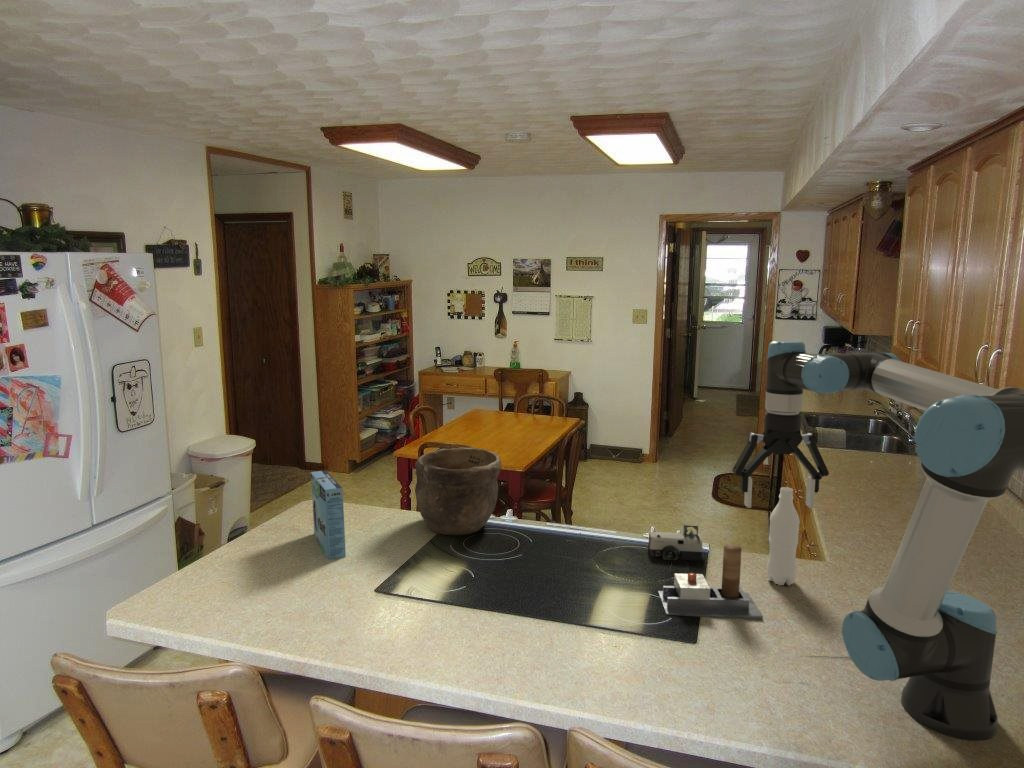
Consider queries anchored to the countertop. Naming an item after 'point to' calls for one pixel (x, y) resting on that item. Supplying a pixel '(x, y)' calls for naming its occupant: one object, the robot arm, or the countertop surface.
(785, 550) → the water bottle
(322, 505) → the blue carton box
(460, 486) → the clay pot
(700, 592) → the white rectangular block
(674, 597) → the mount
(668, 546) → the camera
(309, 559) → the countertop surface
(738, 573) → the dowel peg
